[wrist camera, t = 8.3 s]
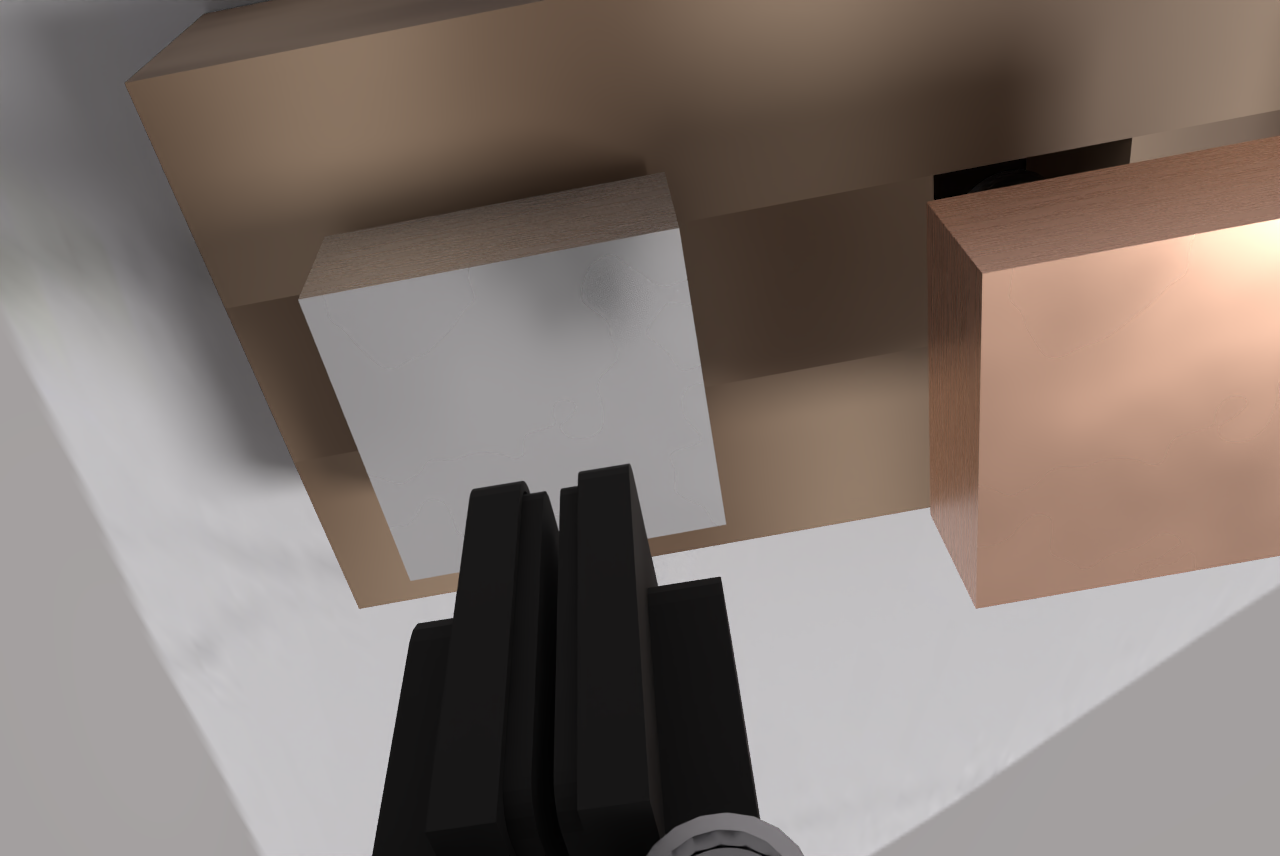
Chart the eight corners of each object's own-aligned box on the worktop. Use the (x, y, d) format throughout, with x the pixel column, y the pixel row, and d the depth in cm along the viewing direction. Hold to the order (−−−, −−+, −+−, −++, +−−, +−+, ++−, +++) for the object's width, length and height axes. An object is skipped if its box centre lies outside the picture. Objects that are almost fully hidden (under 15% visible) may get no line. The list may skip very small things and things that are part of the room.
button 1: (642, 89, 18) (678, 228, 13) (684, 335, 21) (726, 524, 16) (364, 144, 18) (297, 299, 14) (442, 380, 21) (410, 581, 16)
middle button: (1174, 40, 16) (1457, 186, 11) (1140, 324, 19) (1354, 542, 14) (847, 102, 16) (982, 273, 11) (863, 374, 19) (975, 608, 14)
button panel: (1729, -290, 17) (2022, -291, 13) (1532, 272, 22) (1704, 369, 19) (204, 13, 18) (125, 83, 14) (385, 481, 23) (358, 608, 20)
